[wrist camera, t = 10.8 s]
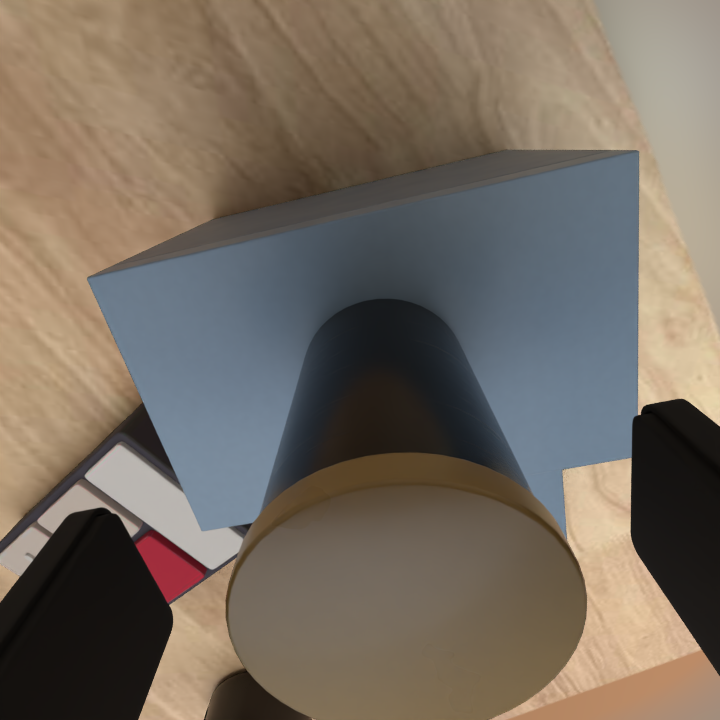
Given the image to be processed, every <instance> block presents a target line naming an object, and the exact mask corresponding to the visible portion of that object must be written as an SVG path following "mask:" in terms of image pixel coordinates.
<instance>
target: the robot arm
mask: <svg viewBox="0 0 720 720" xmlns="http://www.w3.org/2000/svg"><path fill="white" fill-rule="evenodd" d="M631 538H632V542H633V545H634V548H635V550H636V552H637V554H638V555H639V557H640V558H641V560H642V561H643V563H644V564H645V566H646V567H647V569H648V570H649V572H650V573H651V575H652V576H653V578H654V579H655V581H656V582H657V584H658V585H659V587H660V588H661V590H662V591H663V593H664V594H665V596H666V597H667V599H668V600H669V602H670V603H671V604H672V606H673V607H674V609H675V610H676V612H677V613H678V615H679V616H680V618H681V619H682V621H683V622H684V624H685V625H686V627H687V628H688V630H689V631H690V633H691V634H692V636H693V637H694V639H695V640H696V642H697V643H698V645H699V646H700V647H701V649H702V650H703V652H704V653H705V655H706V656H707V658H708V659H709V661H710V662H711V664H712V665H713V667H714V668H715V670H716V671H717V673H718V674H719V676H720V426H718V425H717V424H716V423H715V422H713V421H712V420H711V419H710V418H708V417H707V416H706V415H705V414H703V413H702V412H701V411H699V410H698V409H697V408H696V407H694V406H693V405H692V404H691V403H689V402H688V401H686V400H684V399H675V400H670V401H665V402H659V403H654V404H649V405H646V406H644V407H643V409H642V411H641V415H637V416H635V417H634V418H633V422H632V473H631ZM172 627H173V614H172V610H171V608H170V606H169V604H168V603H167V601H166V599H165V597H164V595H163V594H162V592H161V590H160V588H159V586H158V585H157V583H156V581H155V579H154V577H153V576H152V574H151V572H150V570H149V569H148V567H147V565H146V563H145V561H144V560H143V558H142V556H141V554H140V552H139V551H138V549H137V547H136V545H135V543H134V542H133V540H132V538H131V536H130V534H129V533H128V531H127V529H126V527H125V526H124V524H123V522H122V520H121V518H120V517H119V516H118V515H117V514H114V513H111V512H110V510H108V509H107V508H103V507H100V508H95V509H89V510H84V511H79V512H74V513H71V514H69V515H68V516H67V517H66V518H65V519H64V520H63V522H62V523H61V524H60V526H59V527H58V528H57V529H56V531H55V532H54V533H53V535H52V536H51V537H50V539H49V540H48V541H47V543H46V544H45V545H44V546H43V548H42V549H41V550H40V552H39V553H38V554H37V556H36V557H35V558H34V559H33V561H32V562H31V563H30V565H29V566H28V567H27V569H26V570H25V571H24V572H23V574H22V575H21V576H20V578H19V579H18V580H17V582H16V583H15V584H14V586H13V587H12V588H11V589H10V591H9V592H8V593H7V595H6V596H5V597H4V599H3V600H2V601H1V602H0V720H138V719H139V716H140V713H141V711H142V708H143V705H144V703H145V700H146V697H147V695H148V692H149V689H150V687H151V684H152V681H153V679H154V676H155V673H156V671H157V668H158V666H159V663H160V660H161V658H162V655H163V652H164V650H165V647H166V644H167V642H168V639H169V636H170V634H171V631H172Z"/></svg>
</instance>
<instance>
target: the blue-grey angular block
mask: <svg viewBox="0 0 720 720" xmlns="http://www.w3.org/2000/svg"><path fill="white" fill-rule="evenodd" d="M638 264H639V151H637V150H504V151H500V152H496V153H491V154H487V155H483V156H479V157H474V158H470V159H466V160H462V161H458V162H453V163H449V164H445V165H441V166H436V167H432V168H428V169H424V170H420V171H415V172H411V173H407V174H403V175H398V176H394V177H390V178H386V179H382V180H377V181H373V182H369V183H365V184H360V185H356V186H352V187H348V188H343V189H339V190H335V191H331V192H327V193H322V194H318V195H314V196H310V197H305V198H301V199H297V200H293V201H289V202H284V203H280V204H276V205H272V206H267V207H263V208H259V209H255V210H251V211H246V212H242V213H238V214H234V215H229V216H225V217H221V218H217V219H213V220H210V221H208V222H206V223H204V224H202V225H200V226H197V227H195V228H193V229H191V230H189V231H187V232H184V233H182V234H180V235H178V236H176V237H174V238H171V239H169V240H167V241H165V242H163V243H161V244H158V245H156V246H154V247H152V248H150V249H148V250H145V251H143V252H141V253H139V254H137V255H135V256H132V257H130V258H128V259H126V260H124V261H122V262H119V263H117V264H115V265H113V266H111V267H109V268H106V269H104V270H102V271H100V272H98V273H96V274H93V275H91V276H89V277H88V278H87V280H88V282H89V284H90V287H91V289H92V291H93V293H94V295H95V298H96V300H97V302H98V304H99V306H100V309H101V311H102V313H103V315H104V317H105V320H106V322H107V324H108V326H109V328H110V331H111V333H112V335H113V337H114V339H115V342H116V344H117V346H118V348H119V350H120V353H121V355H122V357H123V359H124V361H125V364H126V366H127V368H128V370H129V372H130V375H131V377H132V379H133V381H134V383H135V386H136V388H137V390H138V392H139V394H140V397H141V399H142V401H143V403H144V405H145V408H146V410H147V412H148V414H149V416H150V419H151V421H152V423H153V425H154V427H155V430H156V432H157V434H158V436H159V438H160V441H161V443H162V445H163V447H164V449H165V452H166V454H167V456H168V458H169V460H170V463H171V465H172V467H173V469H174V471H175V474H176V476H177V478H178V480H179V482H180V485H181V487H182V489H183V491H184V493H185V496H186V498H187V500H188V502H189V504H190V507H191V509H192V511H193V513H194V515H195V518H196V520H197V522H198V524H199V526H200V529H201V531H209V530H214V529H220V528H226V527H232V526H238V525H243V524H249V523H253V522H254V521H255V520H256V518H257V517H258V516H259V514H260V510H261V507H262V503H263V500H264V496H265V493H266V489H267V486H268V483H269V479H270V476H271V472H272V469H273V465H274V462H275V458H276V455H277V451H278V448H279V445H280V441H281V438H282V434H283V431H284V427H285V424H286V420H287V417H288V413H289V410H290V407H291V403H292V400H293V396H294V393H295V389H296V386H297V382H298V379H299V375H300V372H301V369H302V365H303V362H304V358H305V355H306V352H307V349H308V347H309V344H310V342H311V341H312V339H313V337H314V335H315V334H316V333H317V331H318V330H319V329H320V327H321V326H322V325H323V324H324V323H325V322H326V321H327V320H328V319H330V318H331V317H332V316H333V315H335V314H336V313H338V312H339V311H341V310H343V309H344V308H346V307H349V306H351V305H354V304H356V303H359V302H363V301H367V300H373V299H398V300H404V301H408V302H412V303H414V304H417V305H420V306H422V307H424V308H426V309H428V310H430V311H431V312H433V313H434V314H436V315H437V316H438V317H440V318H441V319H442V320H443V321H444V322H445V323H446V324H447V325H448V326H449V328H450V329H451V330H452V331H453V333H454V334H455V336H456V338H457V339H458V341H459V343H460V345H461V347H462V349H463V351H464V353H465V355H466V358H467V360H468V362H469V364H470V366H471V368H472V370H473V372H474V374H475V376H476V378H477V380H478V382H479V384H480V386H481V388H482V390H483V392H484V394H485V396H486V399H487V401H488V403H489V405H490V407H491V409H492V411H493V413H494V415H495V417H496V419H497V421H498V423H499V425H500V427H501V429H502V431H503V433H504V435H505V437H506V440H507V442H508V444H509V446H510V448H511V450H512V452H513V454H514V456H515V458H516V460H517V462H518V464H519V466H520V468H521V470H522V472H523V474H524V476H525V479H526V481H527V483H528V485H529V487H530V489H531V491H532V493H533V495H534V497H536V498H537V499H538V500H539V501H540V502H541V503H542V504H543V505H544V506H545V507H546V509H547V510H548V511H549V512H550V513H551V515H552V516H553V517H554V518H555V520H556V522H557V523H558V525H559V527H560V529H561V530H562V532H563V534H564V536H565V538H566V540H567V533H566V518H565V504H564V490H563V475H562V470H563V469H569V468H575V467H581V466H586V465H592V464H598V463H604V462H610V461H615V460H621V459H627V458H632V422H633V418H634V417H635V416H637V415H638Z"/></svg>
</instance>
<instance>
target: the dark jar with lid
mask: <svg viewBox="0 0 720 720" xmlns="http://www.w3.org/2000/svg"><path fill="white" fill-rule="evenodd" d="M586 611H587V594H586V587H585V580H584V577H583V574H582V571H581V569H580V566H579V563H578V561H577V559H576V557H575V555H574V553H573V551H572V549H571V547H570V545H569V543H568V541H567V540H566V538H565V536H564V534H563V532H562V530H561V529H560V527H559V525H558V523H557V522H556V520H555V518H554V517H553V516H552V515H551V513H550V512H549V511H548V510H547V509H546V507H545V506H544V505H543V504H542V503H541V502H540V501H539V500H538V499H537V498H536V497H534V495H533V493H532V491H531V489H530V487H529V485H528V483H527V481H526V479H525V476H524V474H523V472H522V470H521V468H520V466H519V464H518V462H517V460H516V458H515V456H514V454H513V452H512V450H511V448H510V446H509V444H508V442H507V440H506V437H505V435H504V433H503V431H502V429H501V427H500V425H499V423H498V421H497V419H496V417H495V415H494V413H493V411H492V409H491V407H490V405H489V403H488V401H487V399H486V396H485V394H484V392H483V390H482V388H481V386H480V384H479V382H478V380H477V378H476V376H475V374H474V372H473V370H472V368H471V366H470V364H469V362H468V360H467V358H466V355H465V353H464V351H463V349H462V347H461V345H460V343H459V341H458V339H457V338H456V336H455V334H454V333H453V331H452V330H451V329H450V328H449V326H448V325H447V324H446V323H445V322H444V321H443V320H442V319H441V318H440V317H438V316H437V315H436V314H434V313H433V312H431V311H430V310H428V309H426V308H424V307H422V306H420V305H417V304H414V303H412V302H408V301H404V300H398V299H373V300H367V301H363V302H359V303H356V304H354V305H351V306H349V307H346V308H344V309H343V310H341V311H339V312H338V313H336V314H335V315H333V316H332V317H331V318H330V319H328V320H327V321H326V322H325V323H324V324H323V325H322V326H321V327H320V329H319V330H318V331H317V333H316V334H315V335H314V337H313V339H312V341H311V342H310V344H309V347H308V349H307V352H306V355H305V358H304V362H303V365H302V369H301V372H300V375H299V379H298V382H297V386H296V389H295V393H294V396H293V400H292V403H291V407H290V410H289V413H288V417H287V420H286V424H285V427H284V431H283V434H282V438H281V441H280V445H279V448H278V451H277V455H276V458H275V462H274V465H273V469H272V472H271V476H270V479H269V483H268V486H267V489H266V493H265V496H264V500H263V503H262V507H261V510H260V514H259V516H258V517H257V518H256V520H255V521H254V522H253V524H252V525H251V527H250V529H249V530H248V532H247V534H246V536H245V537H244V539H243V542H242V545H241V547H240V550H239V552H238V555H237V558H236V562H235V565H234V568H233V571H232V574H231V578H230V581H229V584H228V590H227V595H226V621H227V627H228V632H229V637H230V639H231V642H232V645H233V647H234V650H235V652H236V654H237V656H238V657H239V659H240V661H241V662H242V664H243V666H244V667H245V668H246V670H247V671H248V672H249V673H250V675H251V676H252V677H253V678H254V680H256V681H257V682H258V683H259V684H260V685H261V686H262V687H263V688H264V689H265V690H266V691H267V692H269V693H270V694H271V695H273V696H274V697H275V698H277V699H278V700H279V701H281V702H282V703H284V704H286V705H287V706H289V707H291V708H293V709H294V710H296V711H298V712H300V713H302V714H304V715H307V716H309V717H311V718H313V719H316V720H489V719H492V718H494V717H496V716H499V715H501V714H503V713H505V712H507V711H510V710H511V709H513V708H515V707H517V706H518V705H520V704H522V703H524V702H525V701H527V700H528V699H530V698H531V697H533V696H534V695H535V694H537V693H538V692H539V691H541V690H542V689H543V688H544V687H545V686H546V685H548V684H549V683H550V682H551V681H552V680H553V679H554V678H555V677H556V676H557V675H558V674H559V672H560V671H561V670H562V669H563V668H564V666H565V665H566V664H567V663H568V661H569V659H570V658H571V656H572V654H573V653H574V651H575V650H576V648H577V645H578V643H579V640H580V638H581V636H582V633H583V629H584V625H585V620H586Z"/></svg>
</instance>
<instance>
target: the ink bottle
mask: <svg viewBox="0 0 720 720" xmlns="http://www.w3.org/2000/svg"><path fill="white" fill-rule="evenodd" d="M204 720H312V718H311V717H309V716H307V715H304V714H302V713H300V712H298V711H296V710H294V709H293V708H291V707H289V706H287V705H286V704H284V703H282V702H281V701H279V700H278V699H277V698H275V697H274V696H273V695H271V694H270V693H269V692H267V691H266V690H265V689H264V688H263V687H262V686H261V685H260V684H259V683H258V682H257V681H256V680H254V678H253V677H252V676H251V675H250V673H249V672H245V673H241V674H238V675H235V676H233V677H231V678H229V679H227V680H225V681H224V682H223V683H221V684H220V685H219V686H218V687H217V688H216V690H215V691H214V693H213V695H212V697H211V700H210V703H209V707H208V708H207V711H206V715H205V718H204Z"/></svg>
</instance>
